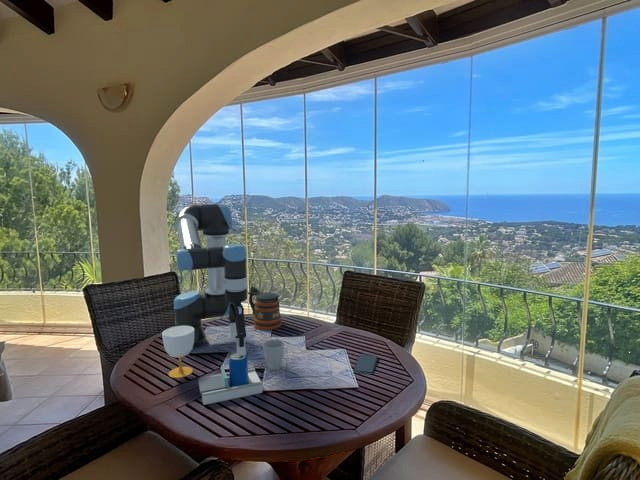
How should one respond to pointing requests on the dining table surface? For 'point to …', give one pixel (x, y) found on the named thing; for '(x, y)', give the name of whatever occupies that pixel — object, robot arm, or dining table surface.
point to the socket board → (234, 389)
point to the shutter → (213, 382)
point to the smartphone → (366, 364)
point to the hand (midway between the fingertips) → (237, 346)
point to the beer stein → (265, 309)
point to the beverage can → (238, 370)
